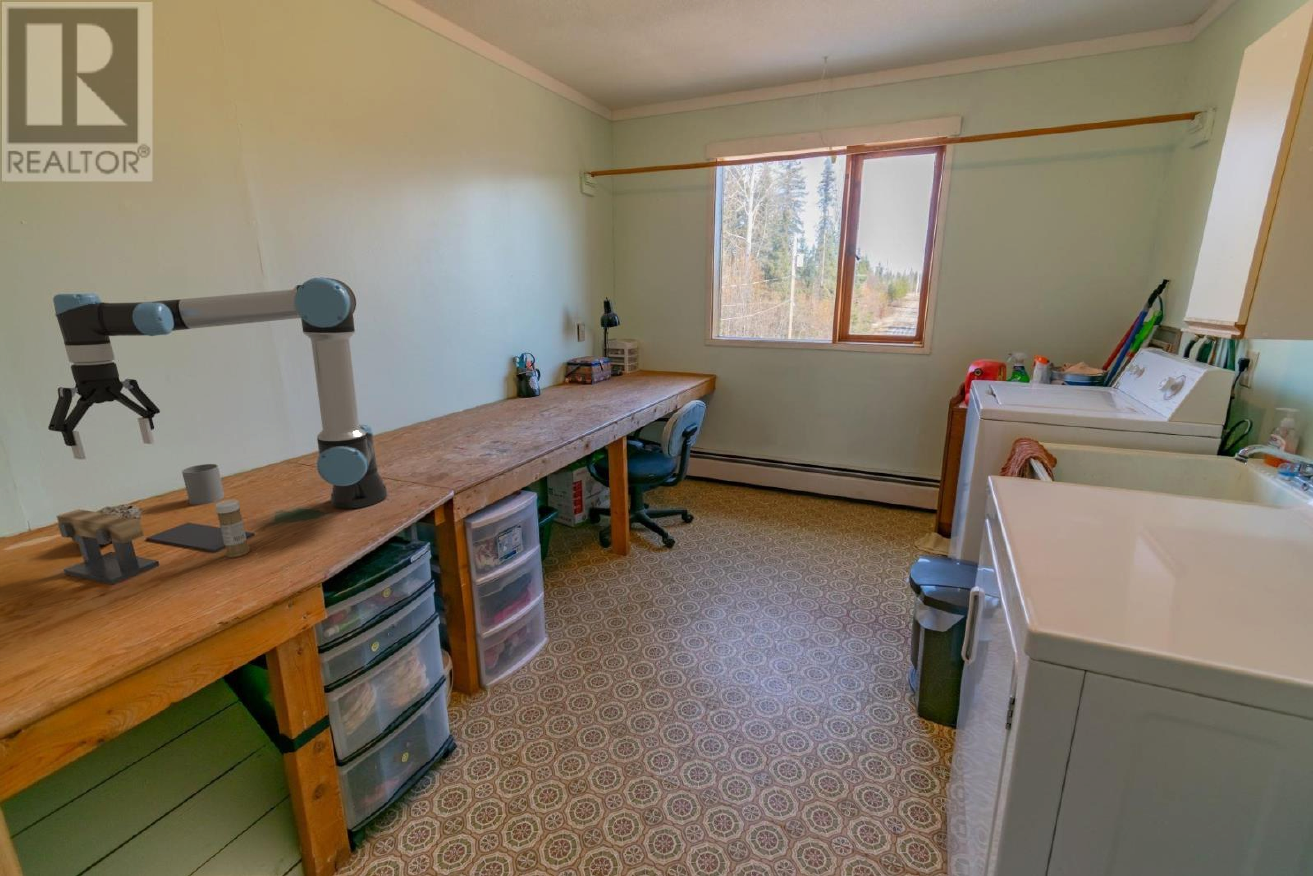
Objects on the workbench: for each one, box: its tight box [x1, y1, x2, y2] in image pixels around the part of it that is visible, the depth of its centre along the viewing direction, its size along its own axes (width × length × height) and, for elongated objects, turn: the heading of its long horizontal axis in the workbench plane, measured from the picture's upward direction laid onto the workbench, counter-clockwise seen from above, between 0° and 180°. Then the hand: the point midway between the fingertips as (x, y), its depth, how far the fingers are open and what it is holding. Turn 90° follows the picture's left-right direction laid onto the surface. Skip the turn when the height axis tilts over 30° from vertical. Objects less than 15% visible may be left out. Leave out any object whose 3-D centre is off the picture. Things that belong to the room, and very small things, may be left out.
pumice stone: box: [69, 504, 143, 545], centre depth 141 cm, size 14×12×8 cm
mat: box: [145, 522, 256, 553], centre depth 143 cm, size 24×10×1 cm, turn 74°
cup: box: [181, 463, 225, 506], centre depth 167 cm, size 8×8×10 cm
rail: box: [56, 508, 144, 543], centre depth 124 cm, size 20×4×4 cm, turn 74°
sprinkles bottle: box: [214, 499, 250, 558], centre depth 132 cm, size 5×5×13 cm
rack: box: [57, 523, 160, 586], centre depth 125 cm, size 16×9×12 cm, turn 74°
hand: (116, 450), depth 133 cm, fingers open, 13 cm apart
